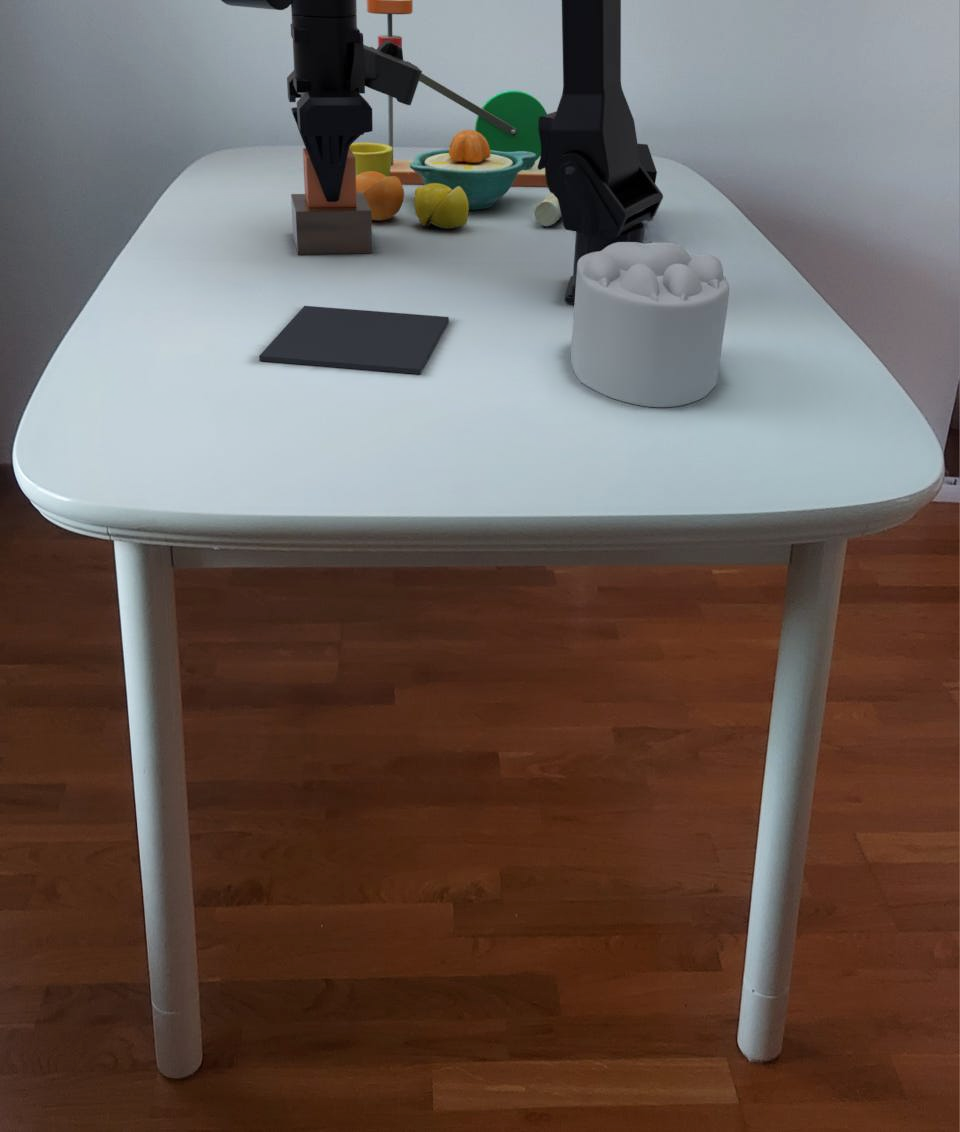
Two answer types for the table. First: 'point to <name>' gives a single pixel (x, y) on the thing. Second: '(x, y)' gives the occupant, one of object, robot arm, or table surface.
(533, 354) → the table surface
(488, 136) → the crank mechanism
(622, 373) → the lumpy-topped squat cylinder
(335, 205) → the top block
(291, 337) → the mat
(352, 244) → the base block
